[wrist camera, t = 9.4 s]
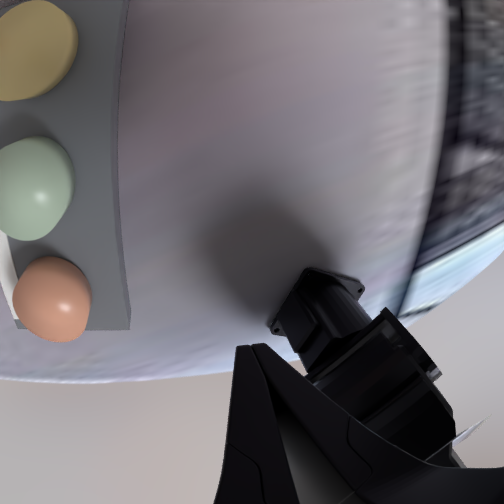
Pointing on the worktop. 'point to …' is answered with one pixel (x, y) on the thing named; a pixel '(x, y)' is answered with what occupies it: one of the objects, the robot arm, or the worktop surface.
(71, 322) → the terracotta button
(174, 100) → the worktop surface
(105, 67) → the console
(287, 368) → the robot arm
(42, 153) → the sage button
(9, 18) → the ochre button
